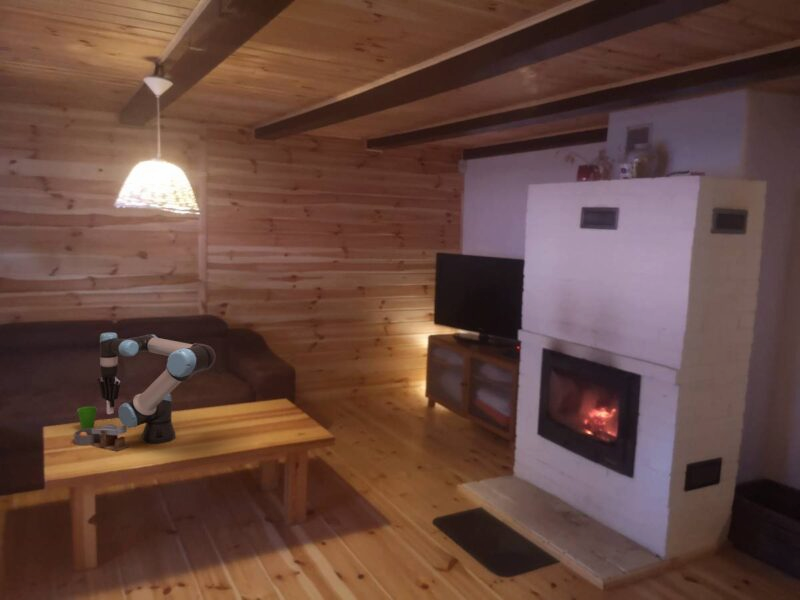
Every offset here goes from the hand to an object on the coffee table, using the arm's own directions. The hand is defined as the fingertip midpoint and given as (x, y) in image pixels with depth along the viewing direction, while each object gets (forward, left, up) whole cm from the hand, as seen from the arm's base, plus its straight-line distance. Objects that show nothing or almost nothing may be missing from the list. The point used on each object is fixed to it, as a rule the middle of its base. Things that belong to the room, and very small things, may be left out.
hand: (110, 413), depth 302 cm
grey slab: (-6, +3, -7) cm, 10 cm away
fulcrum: (-6, +6, -13) cm, 16 cm away
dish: (+7, +6, -13) cm, 16 cm away
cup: (+20, -5, -13) cm, 24 cm away
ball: (+10, +6, -11) cm, 16 cm away
